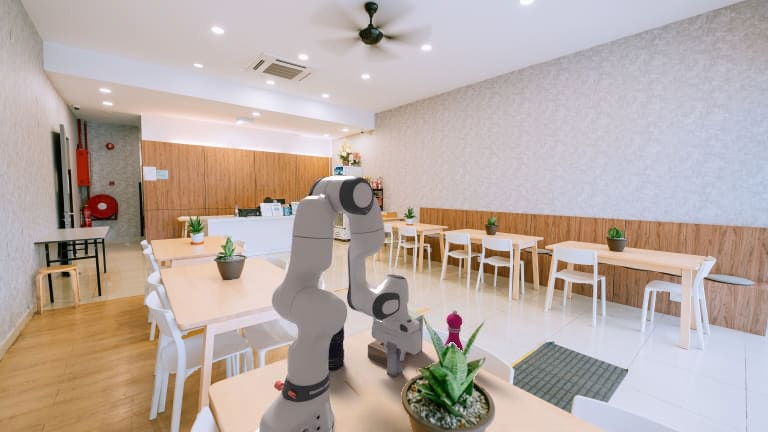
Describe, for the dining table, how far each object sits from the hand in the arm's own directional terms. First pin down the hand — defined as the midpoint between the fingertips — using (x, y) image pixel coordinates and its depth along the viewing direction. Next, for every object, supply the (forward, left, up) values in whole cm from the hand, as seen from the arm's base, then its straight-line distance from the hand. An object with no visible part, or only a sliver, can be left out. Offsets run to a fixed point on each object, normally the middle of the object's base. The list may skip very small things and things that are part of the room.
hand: (395, 356), depth 112 cm
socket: (+9, +9, -6) cm, 14 cm away
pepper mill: (+22, -12, -6) cm, 26 cm away
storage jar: (-11, +22, -6) cm, 25 cm away
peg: (0, 0, -6) cm, 6 cm away
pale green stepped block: (+17, +9, -6) cm, 20 cm away
